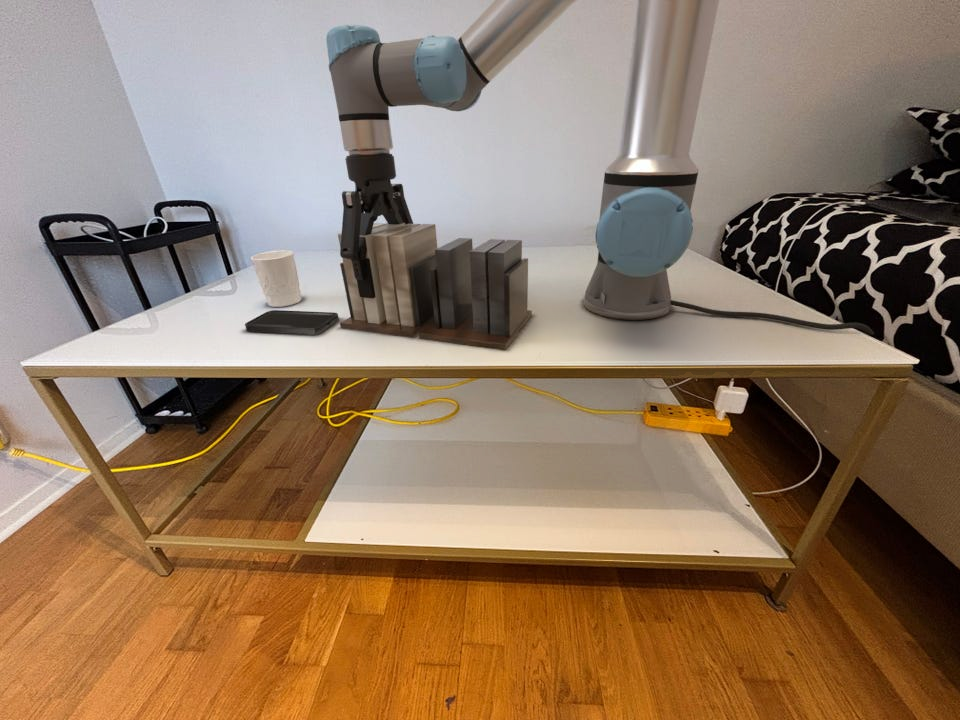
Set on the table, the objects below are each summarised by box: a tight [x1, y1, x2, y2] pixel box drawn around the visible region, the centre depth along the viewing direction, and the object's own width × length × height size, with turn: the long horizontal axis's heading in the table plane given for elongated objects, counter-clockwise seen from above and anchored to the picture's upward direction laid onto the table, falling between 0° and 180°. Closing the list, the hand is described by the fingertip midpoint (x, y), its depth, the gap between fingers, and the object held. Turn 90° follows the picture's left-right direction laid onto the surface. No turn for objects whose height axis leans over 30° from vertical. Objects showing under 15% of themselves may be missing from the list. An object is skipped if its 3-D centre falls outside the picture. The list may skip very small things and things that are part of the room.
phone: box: [244, 309, 340, 336], centre depth 75 cm, size 8×1×15 cm
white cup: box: [250, 250, 303, 308], centre depth 85 cm, size 8×8×10 cm
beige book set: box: [337, 222, 438, 339], centre depth 73 cm, size 15×15×16 cm
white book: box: [358, 223, 405, 324], centre depth 73 cm, size 2×12×15 cm, turn 158°
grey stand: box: [418, 237, 533, 351], centre depth 68 cm, size 15×15×14 cm
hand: (388, 286), depth 75 cm, fingers closed on white book, 12 cm apart
